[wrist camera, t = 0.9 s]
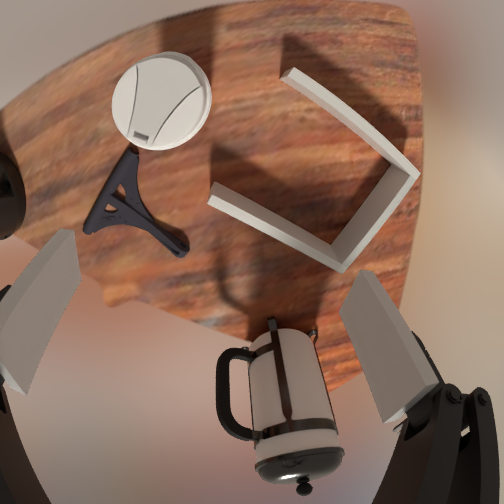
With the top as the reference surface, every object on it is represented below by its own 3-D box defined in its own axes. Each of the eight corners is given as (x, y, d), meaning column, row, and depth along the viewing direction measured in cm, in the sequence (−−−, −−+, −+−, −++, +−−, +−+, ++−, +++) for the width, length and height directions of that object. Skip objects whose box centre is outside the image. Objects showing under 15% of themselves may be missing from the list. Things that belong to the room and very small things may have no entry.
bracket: (162, 278, 41) (159, 289, 39) (85, 225, 35) (77, 234, 33) (219, 211, 36) (219, 220, 34) (131, 145, 30) (123, 150, 28)
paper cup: (202, 139, 30) (182, 168, 19) (145, 117, 28) (92, 134, 16) (231, 82, 27) (231, 70, 15) (172, 60, 25) (132, 37, 13)
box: (210, 188, 34) (207, 203, 30) (284, 71, 27) (293, 67, 22) (331, 254, 40) (342, 274, 36) (400, 162, 33) (420, 173, 29)
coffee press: (316, 301, 45) (370, 473, 20) (317, 354, 54) (351, 487, 28) (215, 320, 46) (215, 498, 21) (236, 369, 54) (244, 505, 29)
